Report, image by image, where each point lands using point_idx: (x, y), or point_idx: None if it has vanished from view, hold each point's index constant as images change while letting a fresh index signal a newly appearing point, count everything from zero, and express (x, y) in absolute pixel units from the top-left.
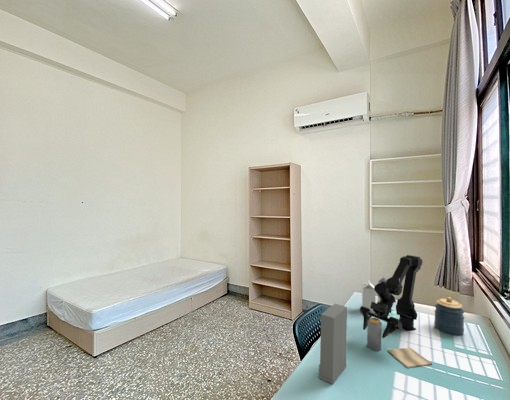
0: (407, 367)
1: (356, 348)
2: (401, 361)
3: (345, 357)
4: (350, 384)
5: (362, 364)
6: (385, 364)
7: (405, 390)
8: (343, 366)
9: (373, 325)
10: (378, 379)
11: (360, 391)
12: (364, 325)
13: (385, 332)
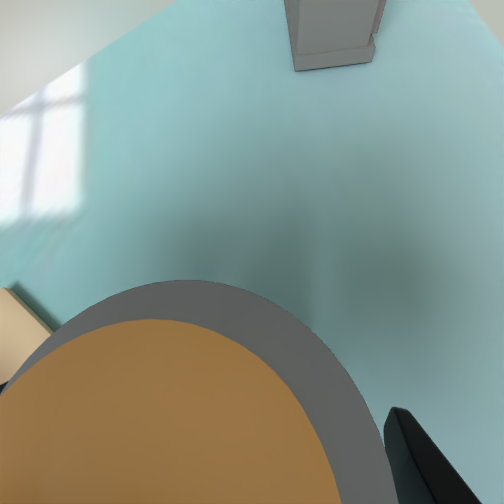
0: (8, 289)
1: (348, 273)
2: (34, 319)
3: (297, 4)
4: (230, 11)
5: (240, 142)
6: (132, 230)
7: (36, 113)
8: (293, 28)
9: (163, 292)
10: (144, 99)
11: (187, 9)
12: (425, 463)
13: (3, 385)
